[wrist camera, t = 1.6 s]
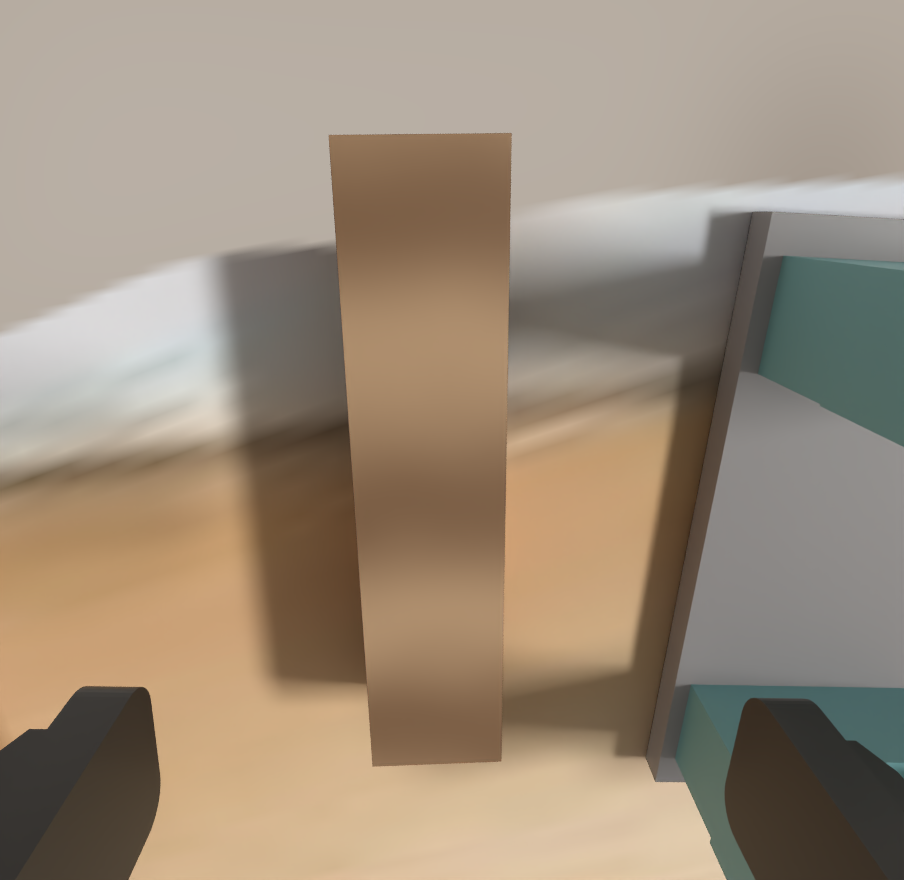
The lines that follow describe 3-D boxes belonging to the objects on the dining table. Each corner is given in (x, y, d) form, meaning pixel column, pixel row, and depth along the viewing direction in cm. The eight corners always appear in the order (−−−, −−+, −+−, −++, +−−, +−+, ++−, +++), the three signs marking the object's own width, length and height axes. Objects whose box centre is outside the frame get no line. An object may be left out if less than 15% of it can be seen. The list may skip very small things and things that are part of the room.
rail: (349, 151, 16) (328, 135, 13) (493, 150, 16) (511, 133, 13) (381, 678, 21) (372, 766, 18) (489, 674, 21) (501, 761, 18)
